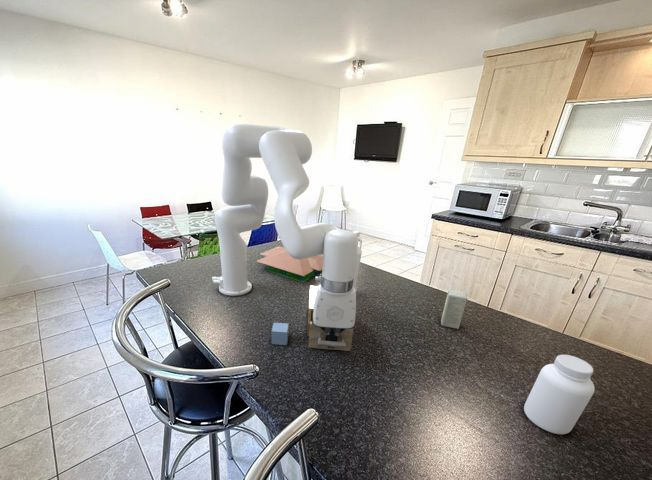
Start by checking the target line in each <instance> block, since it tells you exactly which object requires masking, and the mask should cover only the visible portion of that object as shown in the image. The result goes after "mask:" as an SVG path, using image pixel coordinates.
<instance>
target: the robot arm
mask: <svg viewBox="0 0 652 480" xmlns="http://www.w3.org/2000/svg"><path fill="white" fill-rule="evenodd" d="M221 145H222V154H223V160H224V161H223V172H222V183H221V199H222V200H223V202H224V204H226V205H227V206H223V207H220V208H219V209H217V210H216V212H215V213H214V218H213V219H214V224H215V228H216V232H217V236H218V237H217V238H218V244H219V245H218V246H219V256H220V269H221V276H212V277H211V281H212V284H213V285H218V290H219V292H220V294H223V295H225V296H229V297H230V296H231V297H235V296H236V297H237V296H243V295H246V294H248V293H249V292H250V291H252V288H253V286H252V283H251V282H250V281H249V280H248V260H247V259H248V258H247V257H248V256H247V254H248V253H247V245H246V241H245V240H244V239H243V237H241V233H245V232H250V231H251V232H252V231H255V230H258V229H260V228H261V227H262V225H263V223H264V220H265V214H266V210H267V204H268V199H269V186H268V182H267V180H266V179H265V178H264V177H263V176H262V175H259V174H252V170H253V165H252V160H251V159H256V158H257V159H262V161H263V163H264V166H265V168H266V170H267V171H268V175H269V177H270V179H271V182H272V183H273V186H274V188H275V191H276V192H277V199H276V202H275V206H274V214H273V215H274V227H275V230H276V234H277V235H278V238H279V240H280V242H281V244H282V247H284V248H285V250H286V251H287V253H288V254H289V255H290V256H291V257H293V258H295V259H305V258H308V257H312V256H319V255H322V258H323V264H322V270H321V273H322V274H319V275H318V276H315V279H314V280H315V281H314V282H315V283H317V284H318V285H317V286H318V288H317V292H316V297H315V303H314V313H313V320H312V325H313V326H316V327H320V328H321V329H322V330H323V331H324V332H325V334H326V337H325V341H336V342H337V339H338V336H339V334H340V333H341V332H342V331H344V330H345V329H353V328H354V329H355V324H356V316H357V315H356V314H357V290H355V288H354V287H353V280H354V273H355V265H356V257H357V249H358V247H359V241H358V238H359V237H358V236H357V235H356V234H355V233H353V232H352V231H351V230H346V229H341V228H340V227H338V226H336V225H335V224H333V223H332V222H331V223H330V222H328V221H327V222H326V221H323V222H317V223H311V224H305V225H299V222H298V221H297V218H296V217H295V214H294V210H293V207H294V206H293V203H294V200H295V199H297V198H298V197H300V196H301V195H302V194H304V192H305V191H306V190H307V189H308V188H309V186H310V178H309V176H308V174H307V173H306V170H305V168H304V166H303V165H305V164H306V163H308V162H309V161H310V159H311V158H312V153H313V146H312V143H311V139H310V137H309V136H308V135H307V134H306V133H305V132H303V131H301V130H296V129H294V130H293V129H290V128H285V127H280V126H274V125H263V124H262V125H261V124H247V123H246V124H244V123H237V124H232V125H229V126H227V128H225V130H224V132H223V134H222V139H221ZM330 327H331V328H334V329H333V330H332V331H331V328H330ZM354 329H353V330H354ZM328 348H334V347H328Z"/></svg>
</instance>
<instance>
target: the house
mask: <svg viewBox="0 0 652 480" xmlns="http://www.w3.org/2000/svg"><path fill="white" fill-rule="evenodd" d="M260 255H261V256H262V257H261V258H260V259H257V260H255V262H256V263H260V264H263V265H265V266H266V267H267V269H266V270H269V269H270V267H271V268H272V270H269V272H270V273H274V274H276V275H280V276H282V277H285V278H289V279H291V280H295V281H299V282H301V283H304V282H306V281H307V280H309V279H310V278H312V277H313V276H315V275H317V276H319V273H320V275H322V264H323V256H319V255H315V256H312V257H308V258H305V259H295V258H293V257H291V256H290V255H289V254H288V253H287V251H286V250H285V248H284V246H280V245H278V246H275V247H272V248H271V249H269V250H265V251H263V252H260ZM284 274H286V275H284ZM290 276H292V277H290ZM309 276H310V277H309ZM293 277H294V278H293ZM306 277H307V279H306ZM297 278H299V279H297ZM303 279H304V280H303Z"/></svg>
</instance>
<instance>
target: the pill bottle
mask: <svg viewBox="0 0 652 480" xmlns="http://www.w3.org/2000/svg"><path fill="white" fill-rule="evenodd" d="M593 373H594V368H593V366H592V365H591V364H590V363H589V362H587V361H585V360H583V359H581V358H580V357H577V356H574V355H569V354H558V355H556V357H555V360H554V362H553V363H548V364H546V365H543V367H542V368H541V369H540V371H539V373H538V375H537V378H536V379H535V381H534V384H533V385H532V388H531V390H530V392H529V394H528V396H527V398H526V401H525V403H524V406H523V411H524V414H525V416H526V417H527V418H528V420H529V421H531V422H532V423H533V424H534V425H535V426H537V427H538V428H541V429H542V430H544V431H546V432H548V433H551V434H556V435H566V434H569V433H570V432H571V431H572V430H573V429H574V427H575V425H576V424H577V422H578V420H579V418H580V417H581V416H582V414H583V412H584V410H585V409H586V407H587V406H588V404H589V402H590V400H591V399H592V396H593V395H594V394H595V384H594V382H593V380H591V377H592V376H593Z"/></svg>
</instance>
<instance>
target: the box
mask: <svg viewBox="0 0 652 480" xmlns="http://www.w3.org/2000/svg"><path fill="white" fill-rule="evenodd" d="M467 301H468V294H467V292H465V291H459V290H453V289H448V290H447V293H446V298H445V303H444V305H443V310H442V313H441V318H440V325H441V326H443V327H446V328H452V329H457V330H459V329H460V326H461V323H462V318H463V316H464V312H465V308H466V305H467Z"/></svg>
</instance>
